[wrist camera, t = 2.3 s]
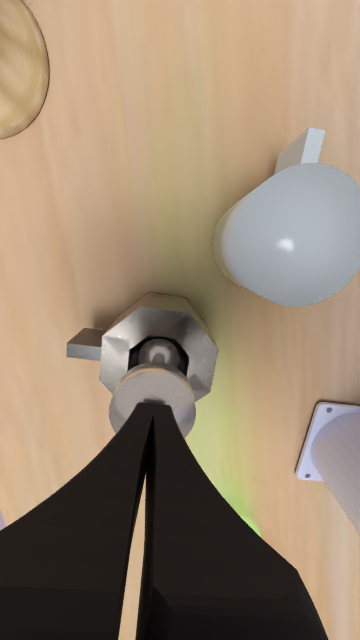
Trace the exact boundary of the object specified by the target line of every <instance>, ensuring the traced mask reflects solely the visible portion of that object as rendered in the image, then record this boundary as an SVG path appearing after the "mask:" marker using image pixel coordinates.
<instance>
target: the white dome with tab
mask: <svg viewBox="0 0 360 640" xmlns="http://www.w3.org/2000/svg"><path fill="white" fill-rule="evenodd" d="M324 134H325V130H321V129H315V128H310V127H309V128H308V129H307V130H306V131H305V132H303V133H302V134H301V135H300V136H299V137H298V138H297V139H296V140H295V141H293V142H292V143H291V144H290V145H289V146H288V147H287V148H286V149H285V150H283V151H282V152H281V153H280V154H279V155H278V159H277V164H276V168H275V173H274V175H273V176H272V177H270V178H269V179H267V180H266V181H265V182H263V183H262V184H261V185H259V186H258V187H257V188H255V189H254V190H253V191H251V192H250V193H249V194H247V195H246V196H245V197H243V198H242V199H241V200H239V201H238V202H237V203H235V204H234V205H233V206H231V207H230V208H229V209H228V210H227V211H226V212H225V213H224V215H223V216H222V217H221V219H220V220H219V222H218V224H217V227H216V229H215V232H214V237H213V254H214V258H215V261H216V264H217V266H218V268H219V269H220V271H221V272H222V273H223V275H224V276H225V277H227V278H228V279H229V280H230V281H232V282H234V283H235V284H237V285H239V286H241V287H243V288H245V289H247V290H249V291H251V292H253V293H255V294H257V295H259V296H261V297H263V298H265V299H267V300H269V301H271V302H274V303H277V304H280V305H285V306H295V307H296V306H306V305H312V304H315V303H318V302H321V301H323V300H325V299H327V298H329V297H331V296H332V295H334V294H336V293H337V292H338V291H340V290H341V289H342V288H343V287H344V286H345V285H346V284H347V283H348V282H349V281H350V280H351V279H352V278H353V277H354V275H355V274H356V273H357V271H358V270H359V268H360V187H359V185H358V184H357V183H356V182H355V181H354V180H353V179H352V178H351V177H350V176H349V175H348V174H346V173H345V172H343V171H341V170H340V169H337V168H335V167H333V166H329V165H325V164H319V163H317V162H318V158H319V154H320V150H321V146H322V142H323V138H324Z"/></svg>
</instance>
